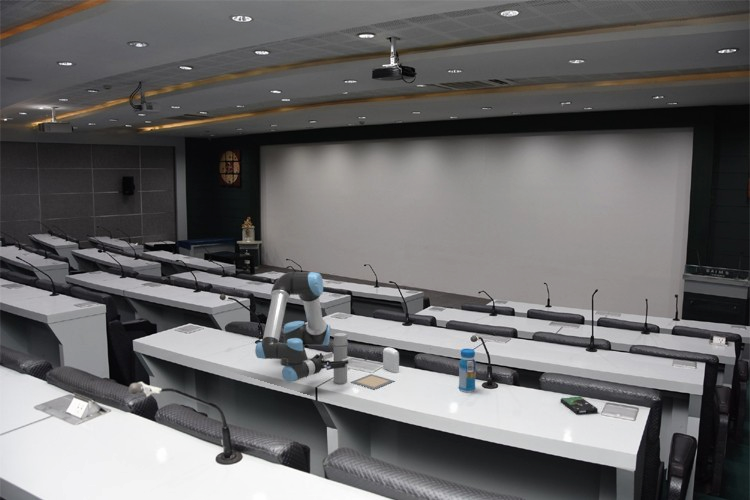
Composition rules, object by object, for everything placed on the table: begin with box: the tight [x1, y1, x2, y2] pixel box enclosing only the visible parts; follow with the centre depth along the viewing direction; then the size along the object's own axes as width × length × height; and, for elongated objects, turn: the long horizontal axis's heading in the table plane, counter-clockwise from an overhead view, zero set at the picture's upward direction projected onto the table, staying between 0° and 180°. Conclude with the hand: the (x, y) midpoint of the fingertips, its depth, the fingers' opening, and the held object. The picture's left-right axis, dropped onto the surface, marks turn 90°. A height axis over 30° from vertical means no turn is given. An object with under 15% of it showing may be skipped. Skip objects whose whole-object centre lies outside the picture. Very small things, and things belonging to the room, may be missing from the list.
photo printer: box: [382, 347, 400, 373], centre depth 301 cm, size 10×4×12 cm, turn 39°
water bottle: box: [332, 332, 349, 385], centre depth 282 cm, size 9×8×25 cm
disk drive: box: [560, 396, 599, 416], centre depth 250 cm, size 10×3×15 cm
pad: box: [350, 373, 395, 391], centre depth 282 cm, size 16×16×1 cm
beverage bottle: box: [458, 348, 477, 393], centre depth 271 cm, size 8×8×20 cm
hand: (341, 357), depth 282 cm, fingers open, 13 cm apart
